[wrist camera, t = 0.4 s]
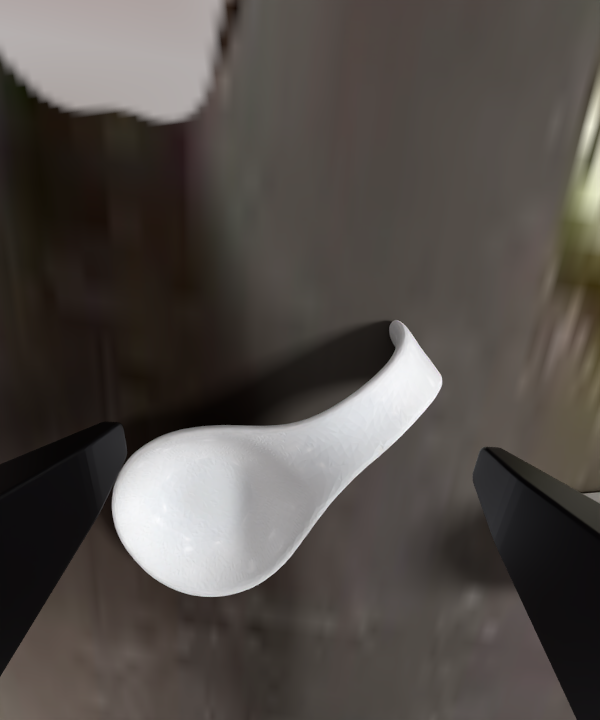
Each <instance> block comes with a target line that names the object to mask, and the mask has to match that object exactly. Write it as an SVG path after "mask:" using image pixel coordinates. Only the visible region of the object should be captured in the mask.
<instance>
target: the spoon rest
mask: <svg viewBox="0 0 600 720" xmlns="http://www.w3.org/2000/svg"><path fill="white" fill-rule="evenodd" d="M389 334H390V337H391V340H392V342H393V344H394V346H395V351H394V353H393V355H392V357H391V358H390V360H389V361H388V362H387V364H386V365H385V366H384V367H383V368H382V369H381V370H380V371H379V372H378V373H377V374H376V375H375V376H374V377H373V378H371V379H370V380H369V381H368V382H367V383H366V384H364V385H363V386H362V387H361V388H360V389H358V390H357V391H356V392H354V393H353V394H352V395H350V396H349V397H347V398H346V399H344V400H343V401H341V402H340V403H338V404H336V405H335V406H333V407H331V408H330V409H328V410H326V411H324V412H322V413H320V414H318V415H315V416H313V417H311V418H308V419H305V420H302V421H299V422H294V423H289V424H283V425H273V426H245V425H215V426H200V427H193V428H187V429H181V430H178V431H174V432H171V433H167V434H165V435H162V436H160V437H158V438H156V439H154V440H152V441H150V442H149V443H147V444H145V445H144V446H143V447H141V448H140V449H138V450H137V451H136V452H135V453H134V454H133V455H132V456H131V457H130V458H129V459H128V460H127V462H126V463H125V464H124V466H123V467H122V469H121V471H120V473H119V475H118V477H117V479H116V482H115V485H114V488H113V495H112V515H113V521H114V525H115V528H116V531H117V533H118V536H119V538H120V540H121V542H122V543H123V545H124V546H125V548H126V550H127V551H128V552H129V553H130V555H131V556H132V557H133V558H134V560H135V561H136V562H137V563H138V564H139V565H140V566H141V567H142V568H143V569H144V570H145V571H146V572H147V573H148V574H149V575H151V576H152V577H153V578H155V579H156V580H158V581H159V582H161V583H162V584H164V585H166V586H168V587H170V588H172V589H175V590H177V591H180V592H182V593H186V594H190V595H195V596H203V597H218V596H226V595H231V594H235V593H239V592H242V591H245V590H247V589H250V588H252V587H254V586H256V585H258V584H260V583H261V582H263V581H264V580H266V579H267V578H268V577H270V576H271V575H272V574H274V573H275V572H276V571H277V570H278V569H279V568H280V567H281V566H283V565H284V564H285V562H286V561H287V560H288V559H289V558H290V557H291V555H292V554H293V553H294V552H295V550H296V549H297V548H298V546H299V545H300V544H301V542H302V541H303V540H304V538H305V537H306V535H307V534H308V533H309V531H310V530H311V528H312V527H313V526H314V524H315V523H316V522H317V520H318V519H319V518H320V516H321V515H322V514H323V512H324V511H325V510H326V509H327V507H328V506H329V505H330V503H331V502H332V501H333V500H334V499H335V498H336V497H337V496H338V495H339V494H340V493H341V491H342V490H343V489H344V488H345V487H346V486H347V485H348V484H349V483H350V482H351V481H352V480H353V479H354V478H355V477H356V476H357V475H358V474H359V473H360V472H361V471H363V470H364V469H365V468H366V467H367V466H368V465H369V464H370V463H372V462H373V461H374V460H375V459H377V458H378V457H379V456H380V455H381V454H382V453H383V452H385V451H386V450H387V449H388V448H389V447H390V446H391V445H392V444H393V443H394V442H395V441H396V440H397V439H398V438H400V437H401V436H402V435H403V434H404V432H405V431H406V430H407V429H409V427H410V426H411V425H412V424H413V423H414V422H415V421H416V420H417V419H418V418H419V417H420V415H421V414H422V413H423V412H424V411H425V410H426V409H427V407H428V406H429V405H430V404H431V403H432V402H433V400H434V399H435V397H436V396H437V394H438V392H439V390H440V388H441V386H442V377H441V375H440V373H439V372H438V370H437V369H436V367H435V366H434V365H433V363H432V362H431V361H430V359H429V358H428V357H427V355H426V354H425V353H424V351H423V350H422V349H421V347H420V346H419V344H418V343H417V341H416V340H415V338H414V337H413V335H412V334H411V332H410V331H409V330H408V328H407V327H406V326H405V325H404V324H403V323H402V322H400V321H398V320H394V321H393V322H392V323H391V324H390V327H389Z"/></svg>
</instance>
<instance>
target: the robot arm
mask: <svg viewBox="0 0 600 720" xmlns="http://www.w3.org/2000/svg"><path fill="white" fill-rule="evenodd" d="M126 455H127V447H126V441H125V435H124V429H123V426H122V424H121V423H118V422H102V423H99V424H97V425H94V426H92V427H89V428H87V429H85V430H82V431H80V432H77V433H75V434H72V435H70V436H68V437H65V438H63V439H60V440H58V441H56V442H53V443H51V444H48V445H46V446H43V447H41V448H39V449H36V450H34V451H31V452H29V453H27V454H24V455H22V456H19V457H17V458H14V459H12V460H10V461H7V462H5V463H2V464H0V676H1V674H2V673H3V671H4V669H5V668H6V666H7V665H8V663H9V661H10V660H11V658H12V656H13V655H14V653H15V651H16V650H17V648H18V647H19V645H20V643H21V642H22V640H23V638H24V637H25V635H26V633H27V632H28V630H29V628H30V627H31V625H32V624H33V622H34V620H35V619H36V617H37V615H38V614H39V612H40V610H41V609H42V607H43V606H44V604H45V602H46V601H47V599H48V597H49V596H50V594H51V592H52V591H53V589H54V587H55V586H56V584H57V583H58V581H59V579H60V578H61V576H62V574H63V573H64V571H65V569H66V568H67V566H68V565H69V563H70V561H71V560H72V558H73V556H74V555H75V553H76V551H77V550H78V548H79V547H80V545H81V543H82V542H83V540H84V538H85V537H86V535H87V533H88V532H89V530H90V528H91V527H92V525H93V524H94V522H95V520H96V518H97V517H98V515H99V513H100V511H101V509H102V507H103V505H104V503H105V501H106V499H107V497H108V495H109V493H110V491H111V488H112V486H113V484H114V482H115V480H116V478H117V476H118V474H119V472H120V470H121V468H122V465H123V463H124V461H125V459H126ZM473 483H474V486H475V489H476V492H477V495H478V498H479V500H480V503H481V506H482V509H483V512H484V515H485V518H486V521H487V523H488V526H489V529H490V532H491V535H492V537H493V540H494V542H495V545H496V547H497V549H498V551H499V554H500V556H501V558H502V560H503V562H504V564H505V566H506V569H507V571H508V573H509V575H510V577H511V579H512V581H513V584H514V586H515V588H516V590H517V592H518V594H519V596H520V599H521V601H522V603H523V605H524V607H525V609H526V612H527V614H528V616H529V618H530V620H531V622H532V624H533V627H534V629H535V631H536V633H537V635H538V637H539V639H540V642H541V644H542V646H543V648H544V650H545V652H546V654H547V657H548V659H549V661H550V663H551V665H552V667H553V670H554V672H555V674H556V676H557V678H558V680H559V682H560V685H561V687H562V689H563V691H564V693H565V695H566V697H567V700H568V702H569V704H570V706H571V708H572V710H573V713H574V715H575V717H576V719H577V720H600V503H598V502H596V501H595V500H593V499H591V498H589V497H588V496H586V495H584V494H582V493H580V492H579V491H577V490H575V489H573V488H571V487H570V486H568V485H566V484H564V483H562V482H561V481H559V480H557V479H555V478H553V477H552V476H550V475H548V474H546V473H545V472H543V471H541V470H539V469H537V468H536V467H534V466H532V465H530V464H528V463H527V462H525V461H523V460H521V459H519V458H518V457H516V456H514V455H512V454H510V453H509V452H507V451H505V450H503V449H501V448H497V447H483V448H482V449H481V450H480V452H479V455H478V458H477V462H476V465H475V468H474V471H473Z"/></svg>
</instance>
